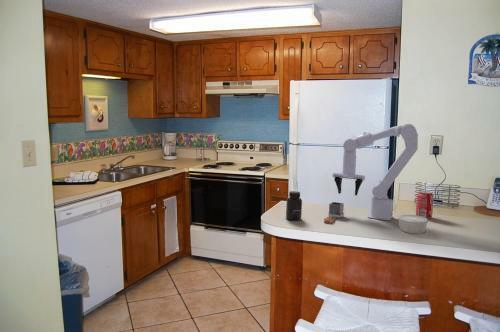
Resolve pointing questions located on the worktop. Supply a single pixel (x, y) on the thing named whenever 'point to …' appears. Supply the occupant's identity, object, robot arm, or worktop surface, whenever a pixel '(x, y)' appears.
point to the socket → (336, 208)
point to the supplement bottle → (294, 206)
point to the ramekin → (412, 224)
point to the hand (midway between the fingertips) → (347, 194)
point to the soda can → (424, 204)
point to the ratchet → (332, 218)
